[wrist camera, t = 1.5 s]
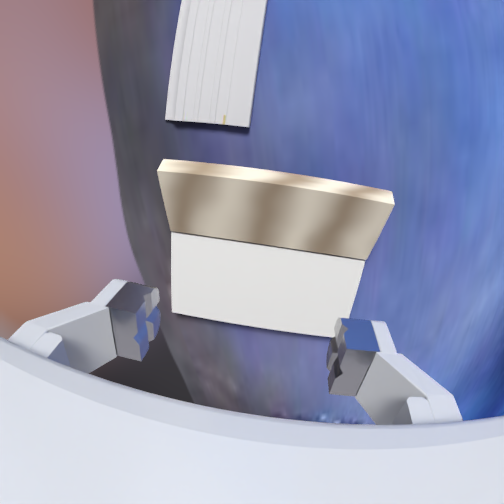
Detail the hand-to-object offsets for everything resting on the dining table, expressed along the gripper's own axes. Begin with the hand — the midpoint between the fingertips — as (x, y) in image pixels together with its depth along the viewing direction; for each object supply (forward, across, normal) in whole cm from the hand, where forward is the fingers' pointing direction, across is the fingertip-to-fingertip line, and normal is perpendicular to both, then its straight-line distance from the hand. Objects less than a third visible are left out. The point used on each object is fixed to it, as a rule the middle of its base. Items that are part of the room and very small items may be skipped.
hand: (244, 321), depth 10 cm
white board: (+23, 0, +12) cm, 26 cm away
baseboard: (+24, +8, -20) cm, 32 cm away
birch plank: (+21, 0, +2) cm, 21 cm away
